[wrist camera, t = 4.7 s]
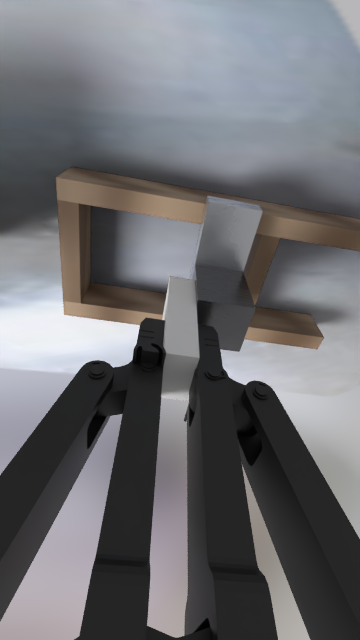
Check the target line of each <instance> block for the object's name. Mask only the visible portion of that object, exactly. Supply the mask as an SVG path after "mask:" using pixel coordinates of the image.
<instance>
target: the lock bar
mask: <svg viewBox="0 0 360 640" xmlns="http://www.w3.org/2000/svg"><path fill="white" fill-rule="evenodd" d="M262 212H263V211H262V209H261V208H260V206H259V205H257V204H252V203H246V202H240V201H235V200H229V199H224V198H218V197H213V196H207V199H206V204H205V209H204V213H203V218H202V223H201V227H200V232H199V237H198V242H197V246H196V251H195V256H194V260H193V265H192V270H191V274H190V279H191V280H195V290H196V305H197V322H198V325H204V326H211V327H214V329H215V330H216V332H217V333H218V338H219V345H220V347H219V348H220V349H223V350H230V351H238V352H239V351H240V349H241V346H242V343H243V341H244V338H245V335H246V333H247V330H248V328H249V325H250V322H251V320H252V317H253V314H254V312H255V309H256V308H255V305H254V302H253V299H252V296H251V293H250V290H249V287H248V284H247V281H246V278H245V275H244V272H243V271H244V268H245V265H246V262H247V259H248V255H249V252H250V249H251V246H252V243H253V240H254V237H255V234H256V231H257V228H258V225H259V222H260V218H261V215H262Z"/></svg>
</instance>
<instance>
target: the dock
mask: <svg viewBox="0 0 360 640" xmlns="http://www.w3.org/2000/svg"><path fill="white" fill-rule="evenodd" d="M56 190H57V206H58V222H59V239H60V255H61V271H62V288H63V304H64V315H70V316H77V317H85V318H92V319H99V320H107V321H114V322H121V323H128V324H136V325H140V324H141V322H142V321H143V320H144V319H145V318H153V319H160V320H162V319H163V311H164V306H165V300H166V293H159V292H152V291H145V290H138V289H132V288H125V287H118V286H111V285H105V284H98V283H91V206H97V207H103V208H109V209H115V210H121V211H126V212H132V213H138V214H144V215H150V216H156V217H161V218H167V219H173V220H179V221H185V222H191V223H197V224H201V223H202V218H203V213H204V209H205V204H206V199H207V196H213V197H218V198H224V199H229V200H235V201H240V202H246V203H252V204H257V205H259V206H260V208H261V209H262V211H263V212H262V215H261V218H260V222H259V225H258V228H257V231H256V234H255V237H254V240H253V243H252V246H251V249H250V252H249V255H248V259H247V262H246V265H245V268H244V271H243V272H244V275H245V278H246V281H247V284H248V287H249V290H250V293H251V296H252V299H253V302H254V305H255V304H256V302H257V299H258V296H259V294H260V291H261V288H262V286H263V283H264V280H265V278H266V275H267V272H268V270H269V267H270V264H271V262H272V259H273V256H274V254H275V251H276V248H277V246H278V243H279V240H280V238H284V239H290V240H296V241H302V242H308V243H314V244H320V245H325V246H331V247H337V248H343V249H349V250H355V251H360V219H357V218H351V217H346V216H340V215H335V214H329V213H324V212H318V211H312V210H307V209H301V208H296V207H290V206H285V205H279V204H274V203H268V202H263V201H257V200H252V199H246V198H241V197H235V196H230V195H224V194H219V193H213V192H208V191H202V190H197V189H191V188H186V187H180V186H175V185H169V184H164V183H158V182H153V181H147V180H142V179H136V178H131V177H125V176H120V175H114V174H109V173H103V172H98V171H92V170H87V169H81V168H76V167H70V168H69V169H67V170H66V171H64V172H63V173H61V174H60V175H59V176H57V177H56ZM255 308H256V309H255V312H254V314H253V317H252V320H251V322H250V325H249V328H248V330H247V333H246V335H245V338H244V339H246V340H253V341H260V342H268V343H275V344H282V345H290V346H297V347H304V348H312V349H318V347H319V346H320V344H321V342H322V340H323V339H324V337H323V335H322V333H321V331H320V330H319V328H318V326H317V324H316V323H315V321H314V319H313V318H312V316H311V315H308V314H301V313H294V312H288V311H281V310H274V309H267V308H261V307H255Z"/></svg>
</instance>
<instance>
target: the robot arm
mask: <svg viewBox="0 0 360 640" xmlns="http://www.w3.org/2000/svg"><path fill="white" fill-rule="evenodd" d="M219 347H220V345H219V338H218V333H217V332H216V330H215V329H214V327H211V326H204V325H198V322H197V305H196V290H195V280H191V279H185V278H179V277H172V276H170V278H169V283H168V289H167V294H166V300H165V306H164V311H163V319H162V320H160V319H153V318H145V319H144V320H143V321H142V322H141V324H140V329H139V334H138V340H137V345H136V346H135V348H134V353H133V360H132V361H131V362H130V363H129V364H127V365H125V366H121V367H115V368H113V367H112V366H111V365H110V364H108V363H106V362H105V361H99V360H97V361H91V362H88V363H86V364H85V365H84V366H83V367H82V368H81V369H80V370H79V372H78V373H77V374H76V376H75V377H74V378H73V380H72V381H71V382H70V384H69V385H68V386H67V387H66V389H65V390H64V391H63V393H62V394H61V395H60V397H59V398H58V399H57V401H56V402H55V403H54V405H53V406H52V407H51V409H50V410H49V411H48V413H47V414H46V415H45V417H44V418H43V419H42V421H41V422H40V423H39V425H38V426H37V427H36V429H35V430H34V431H33V433H32V434H31V435H30V437H29V438H28V439H27V441H26V442H25V443H24V445H23V446H22V447H21V448H20V450H19V451H18V452H17V454H16V455H15V457H14V458H13V459H12V461H11V462H10V463H9V464H8V466H7V467H6V468H5V470H4V471H3V473H2V474H1V475H0V621H1V619H2V617H3V615H4V613H5V611H6V609H7V608H8V606H9V604H10V602H11V600H12V598H13V597H14V595H15V593H16V591H17V589H18V587H19V585H20V584H21V582H22V580H23V578H24V576H25V574H26V572H27V570H28V569H29V567H30V565H31V563H32V561H33V559H34V558H35V556H36V554H37V552H38V550H39V548H40V546H41V545H42V543H43V541H44V539H45V537H46V535H47V533H48V531H49V530H50V528H51V526H52V524H53V522H54V520H55V518H56V517H57V515H58V513H59V511H60V509H61V507H62V505H63V503H64V502H65V500H66V498H67V496H68V494H69V492H70V491H71V489H72V487H73V485H74V483H75V481H76V479H77V478H78V476H79V474H80V472H81V469H82V468H83V466H84V464H85V463H86V461H87V459H88V457H89V455H90V453H91V452H92V450H93V448H94V446H95V444H96V442H97V440H98V438H99V437H100V435H101V433H102V431H103V429H104V427H105V425H106V423H107V422H108V420H109V418H110V416H112V415H118V414H123V415H122V421H121V426H120V431H119V437H118V442H117V447H116V453H115V458H114V463H113V468H112V474H111V479H110V484H109V490H108V495H107V501H106V506H105V511H104V516H103V521H102V527H101V533H100V537H99V543H98V548H97V553H96V558H95V561H94V565H93V569H92V574H91V579H90V584H89V589H88V595H87V600H86V605H85V610H84V615H83V621H82V626H81V631H80V636H79V637H78V638H76V639H75V640H278V637H277V631H276V625H275V620H274V614H273V608H272V602H271V596H270V591H269V587H268V583H267V581H266V578H265V576H264V575H263V574H262V573H261V572H260V570H259V568H258V566H257V561H256V555H255V549H254V543H253V535H252V529H251V523H250V516H249V509H248V503H247V497H246V490H245V484H244V476H243V470H242V465H243V467H244V470H245V473H246V475H247V478H248V480H249V483H250V485H251V488H252V491H253V493H254V496H255V498H256V501H257V503H258V506H259V509H260V511H261V513H262V516H263V518H264V521H265V524H266V527H267V529H268V532H269V534H270V537H271V539H272V542H273V544H274V547H275V550H276V552H277V555H278V557H279V560H280V562H281V565H282V568H283V570H284V573H285V575H286V578H287V580H288V583H289V585H290V588H291V591H292V593H293V596H294V598H295V601H296V604H297V606H298V608H299V611H300V614H301V616H302V619H303V621H304V624H305V626H306V629H307V632H308V634H309V637H310V639H311V640H360V539H359V537H358V535H357V534H356V532H355V530H354V529H353V527H352V525H351V523H350V522H349V520H348V518H347V516H346V515H345V513H344V511H343V509H342V508H341V506H340V504H339V503H338V501H337V499H336V498H335V496H334V494H333V492H332V490H331V489H330V487H329V485H328V484H327V482H326V480H325V478H324V477H323V475H322V473H321V472H320V470H319V468H318V466H317V465H316V463H315V461H314V459H313V458H312V456H311V454H310V452H309V451H308V449H307V447H306V445H305V444H304V442H303V440H302V439H301V437H300V435H299V433H298V432H297V430H296V428H295V426H294V425H293V423H292V422H291V420H290V418H289V416H288V415H287V413H286V411H285V410H284V408H283V406H282V404H281V402H280V401H279V399H278V397H277V395H276V394H275V392H274V391H273V389H272V388H271V387H270V386H268V385H267V384H265V383H263V382H260V381H251V382H249V383H248V384H247V385H243V384H241V383H238V382H236V381H234V380H232V379H231V378H229V377H228V374H227V372H226V371H225V370H224V369H223V367H222V359H221V352H220V348H219ZM188 396H189V405H188V408H187V412H186V415H185V418H184V421H187V493H188V494H187V496H188V497H187V502H188V503H187V507H188V508H187V509H188V596H187V603H186V610H185V636H182V637H179V638H174V637H171V636H169V635H167V634H165V633H162V632H160V631H158V630H155V629H153V628H151V627H149V626H147V617H148V602H149V588H150V563H149V562H150V561H149V560H150V559H149V558H150V543H151V529H152V516H153V502H154V487H155V475H156V461H157V447H158V433H159V420H160V405H161V398H169V399H177V400H185V401H187V399H188ZM241 462H242V463H241Z"/></svg>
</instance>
